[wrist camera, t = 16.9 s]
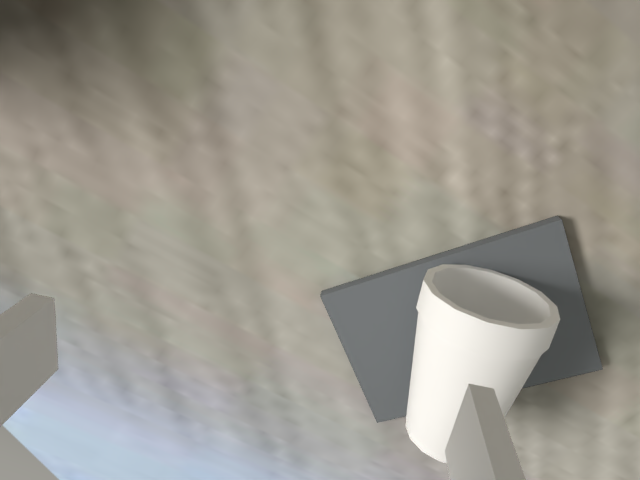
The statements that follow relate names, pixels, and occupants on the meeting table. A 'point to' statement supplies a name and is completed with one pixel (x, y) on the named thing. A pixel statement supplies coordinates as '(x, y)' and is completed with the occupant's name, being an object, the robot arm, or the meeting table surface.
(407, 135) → the meeting table surface
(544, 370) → the rubber mat
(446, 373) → the foam cup
